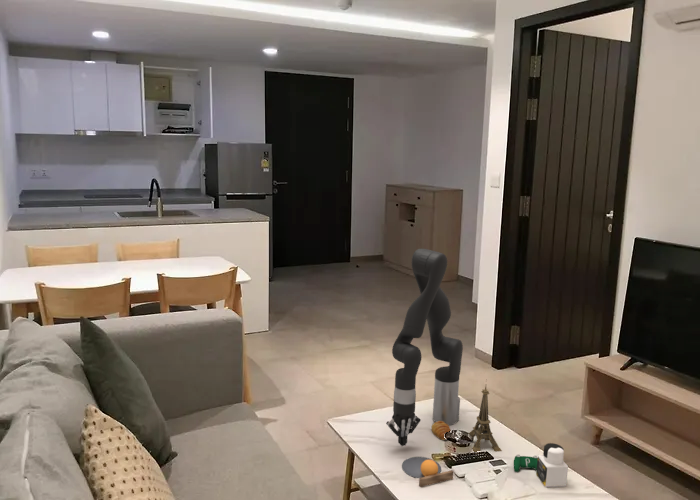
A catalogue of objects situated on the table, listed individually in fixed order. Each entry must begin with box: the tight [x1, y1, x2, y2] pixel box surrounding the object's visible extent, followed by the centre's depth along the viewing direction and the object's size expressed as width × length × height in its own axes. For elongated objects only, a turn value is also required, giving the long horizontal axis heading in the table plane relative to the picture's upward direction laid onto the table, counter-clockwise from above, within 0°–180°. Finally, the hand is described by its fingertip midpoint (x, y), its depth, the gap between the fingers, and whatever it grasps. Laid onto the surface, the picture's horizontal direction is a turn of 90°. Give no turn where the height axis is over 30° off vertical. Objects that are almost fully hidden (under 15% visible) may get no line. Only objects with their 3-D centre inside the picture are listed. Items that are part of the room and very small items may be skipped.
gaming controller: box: [513, 453, 538, 473], centre depth 196 cm, size 9×4×6 cm
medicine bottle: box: [535, 442, 569, 488], centre depth 189 cm, size 7×7×12 cm
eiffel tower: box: [468, 379, 503, 453], centre depth 209 cm, size 11×11×25 cm
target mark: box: [401, 456, 442, 479], centre depth 196 cm, size 13×13×1 cm
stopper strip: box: [418, 469, 454, 488], centre depth 187 cm, size 12×1×2 cm, turn 114°
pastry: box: [431, 421, 452, 441], centre depth 218 cm, size 9×7×4 cm
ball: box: [421, 459, 438, 477], centre depth 190 cm, size 6×6×6 cm
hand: (402, 444), depth 207 cm, fingers closed
